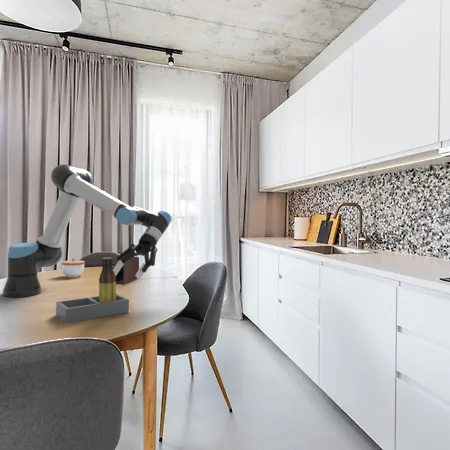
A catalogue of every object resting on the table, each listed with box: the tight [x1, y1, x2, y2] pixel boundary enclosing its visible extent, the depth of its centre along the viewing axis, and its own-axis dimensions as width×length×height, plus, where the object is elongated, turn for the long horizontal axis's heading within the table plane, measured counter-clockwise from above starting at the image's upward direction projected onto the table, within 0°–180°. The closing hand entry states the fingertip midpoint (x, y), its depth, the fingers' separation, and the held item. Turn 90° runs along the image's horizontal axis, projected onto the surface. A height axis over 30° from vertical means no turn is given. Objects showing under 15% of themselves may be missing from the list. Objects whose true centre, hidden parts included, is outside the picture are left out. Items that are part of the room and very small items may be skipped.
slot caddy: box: [55, 293, 130, 324], centre depth 122 cm, size 12×23×5 cm, turn 132°
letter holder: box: [112, 256, 140, 285], centre depth 187 cm, size 10×20×14 cm, turn 171°
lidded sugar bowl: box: [61, 258, 86, 279], centre depth 194 cm, size 13×13×11 cm
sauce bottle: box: [98, 256, 117, 303], centre depth 126 cm, size 7×6×20 cm
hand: (124, 275), depth 133 cm, fingers open, 13 cm apart
